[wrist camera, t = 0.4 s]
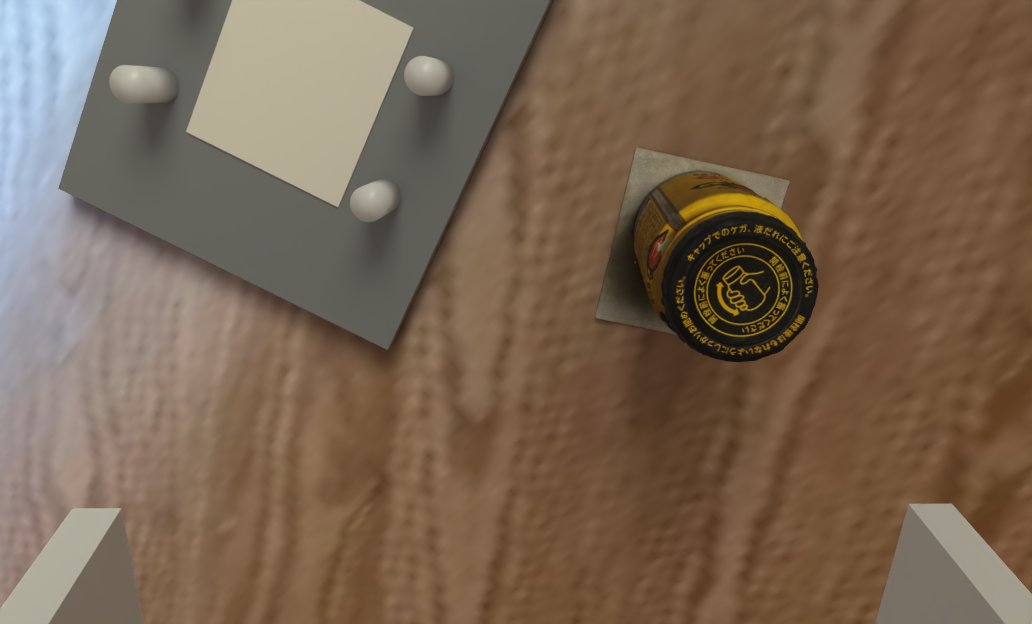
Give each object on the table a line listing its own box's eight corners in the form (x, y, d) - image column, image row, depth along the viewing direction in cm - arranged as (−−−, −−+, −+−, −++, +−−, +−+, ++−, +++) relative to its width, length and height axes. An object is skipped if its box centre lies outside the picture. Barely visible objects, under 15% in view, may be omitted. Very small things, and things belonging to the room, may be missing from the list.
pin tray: (203, -225, 35) (153, -266, 31) (569, -37, 36) (566, -53, 32) (73, 185, 41) (16, 195, 37) (393, 342, 41) (371, 369, 37)
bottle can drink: (789, 180, 38) (875, 217, 26) (738, 348, 40) (797, 451, 28) (635, 146, 38) (654, 169, 26) (594, 316, 40) (595, 405, 29)
